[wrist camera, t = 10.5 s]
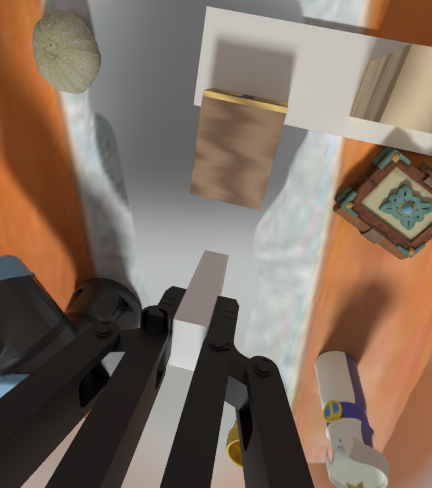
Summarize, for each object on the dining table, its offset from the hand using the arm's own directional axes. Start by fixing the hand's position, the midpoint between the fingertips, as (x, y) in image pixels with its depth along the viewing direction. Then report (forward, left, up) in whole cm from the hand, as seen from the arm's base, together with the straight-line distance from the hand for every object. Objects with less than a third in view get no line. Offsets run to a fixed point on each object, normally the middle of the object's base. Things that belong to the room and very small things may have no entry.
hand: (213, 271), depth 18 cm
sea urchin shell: (-29, +7, -29) cm, 41 cm away
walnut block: (-3, +10, -25) cm, 27 cm away
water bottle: (+24, -33, -29) cm, 50 cm away
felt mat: (+6, +13, -29) cm, 32 cm away
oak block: (+15, +13, -28) cm, 35 cm away
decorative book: (+23, 0, -30) cm, 37 cm away
